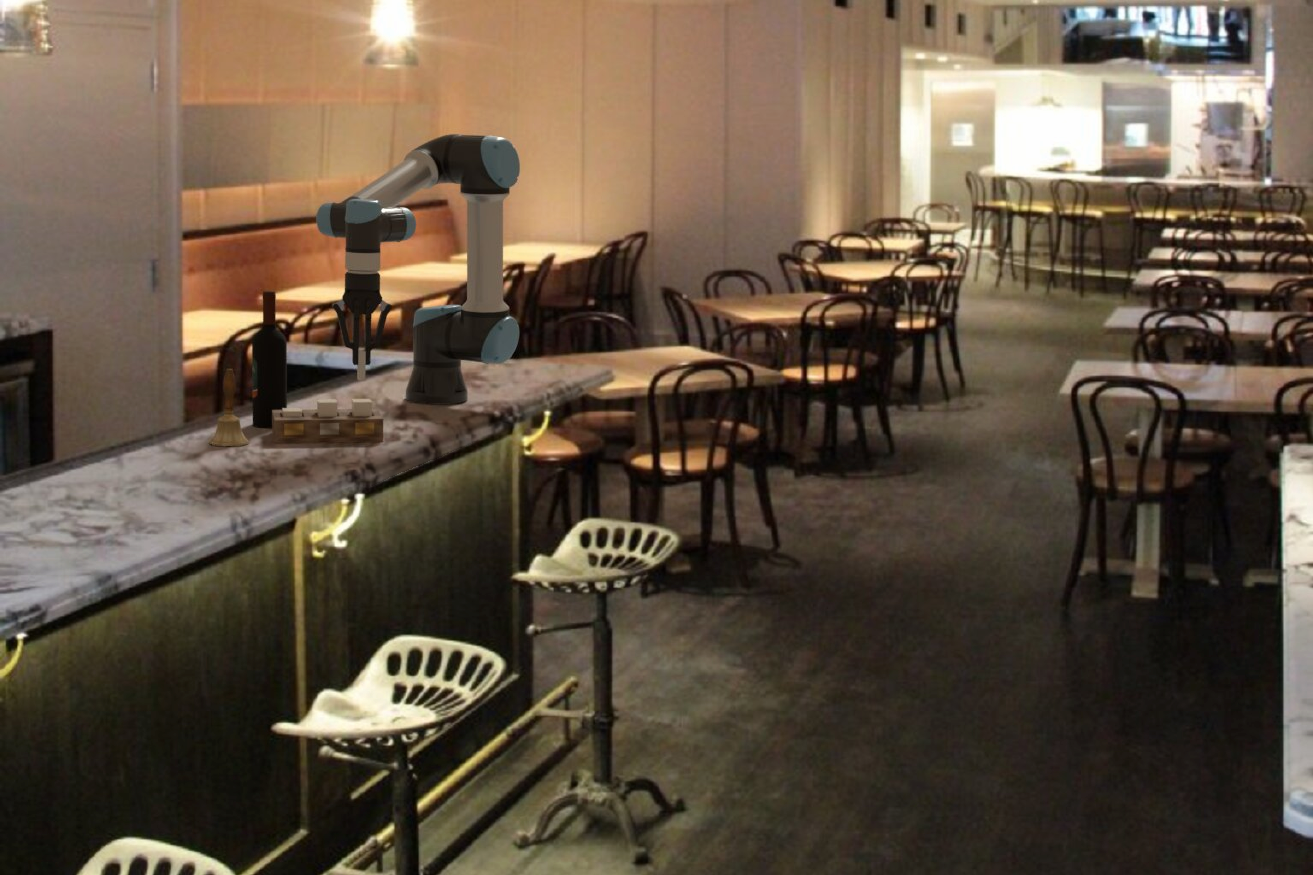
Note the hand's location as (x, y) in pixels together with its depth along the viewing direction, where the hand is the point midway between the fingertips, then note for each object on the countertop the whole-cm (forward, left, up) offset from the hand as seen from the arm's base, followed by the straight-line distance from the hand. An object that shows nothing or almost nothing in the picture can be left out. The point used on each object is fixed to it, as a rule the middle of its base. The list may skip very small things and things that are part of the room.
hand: (361, 379), depth 393 cm
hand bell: (+28, +5, -13) cm, 31 cm away
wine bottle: (+19, -15, -13) cm, 27 cm away
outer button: (+15, 0, -12) cm, 19 cm away
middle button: (+7, 0, -10) cm, 12 cm away
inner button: (0, 0, -10) cm, 10 cm away
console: (+7, 0, -13) cm, 15 cm away
